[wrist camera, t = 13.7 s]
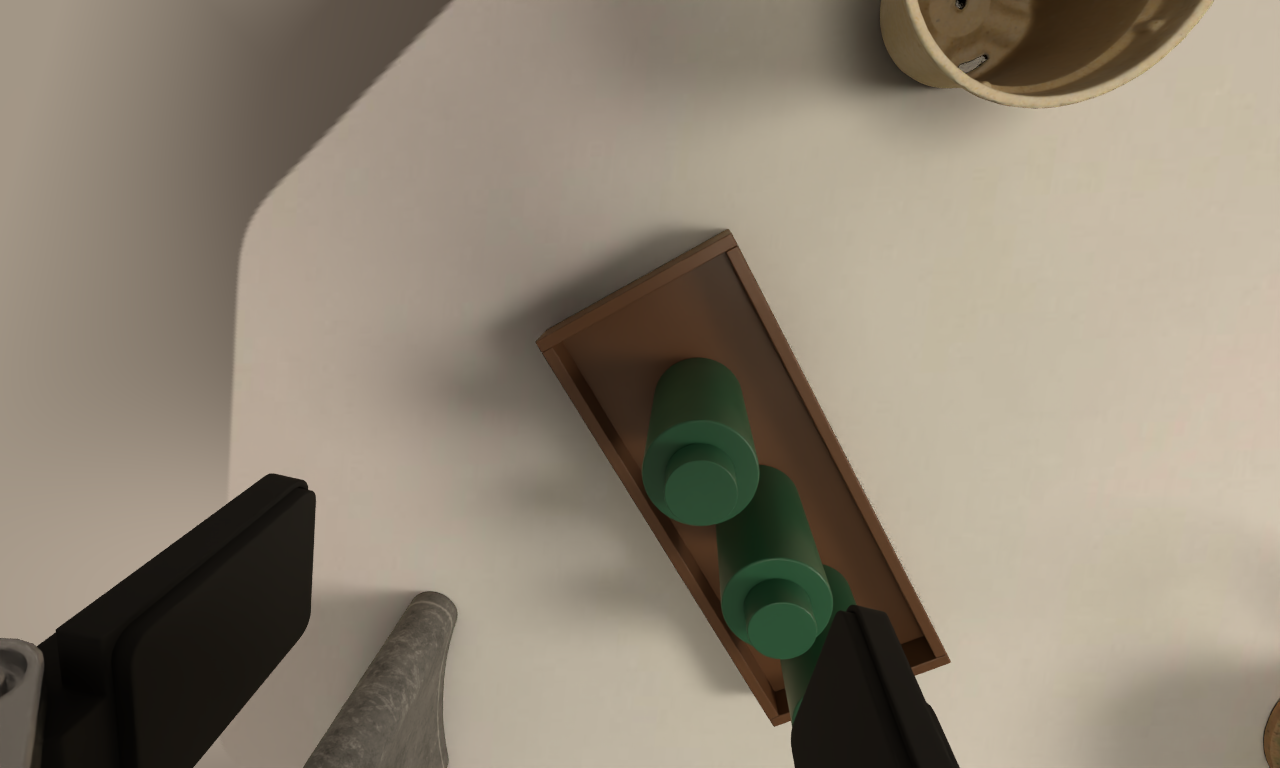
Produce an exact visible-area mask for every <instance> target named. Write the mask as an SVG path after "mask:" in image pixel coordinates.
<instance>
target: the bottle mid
mask: <svg viewBox="0 0 1280 768" xmlns="http://www.w3.org/2000/svg"><path fill="white" fill-rule="evenodd" d="M759 469H760V477H759V483H758V487H757V490H756V492H755V494H754V496H753V498H752V500H751V501H750V503H749V504H748V505H747V506H746V507H745V508H744V509H743V510H742V511H741V512H740V513H739V514H737V515H736V516H734V517H733V518H731V519H729V520H727V521H724V522H722V523H719V524H716V537H717V552H718V566H719V581H720V595H721V608H722V614H723V617H724V620H725V621H726V623H727V625H728V627H729V628H730V629H731V631H732V632H733V633H734V634H735V635H736V636H737V637H738V638H740V639H741V640H743V641H744V642H746V643H747V644H750V645H752V646H753V647H754V648H755V649H756V650H757V651H758V652H759V653H761V654H763V655H765V656H767V657H770V658H774V659H790V658H794V657H797V656H799V655H801V654H803V653H805V652H806V651H807V650H808V649H809V648H810V647H811V646H812V645H813V643H814V641H815V639H816V637H817V636H818V635H819V634H820V633H821V632H822V631H823V630H824V628H825V627H826V626H827V624H828V622H829V620H830V617H831V614H832V610H833V596H832V592H831V589H830V586H829V583H828V580H827V577H826V574H825V571H824V568H823V565H822V562H821V559H820V556H819V553H818V550H817V547H816V544H815V541H814V538H813V535H812V532H811V529H810V526H809V523H808V520H807V517H806V514H805V511H804V508H803V505H802V502H801V499H800V496H799V493H798V491H797V488H796V486H795V484H794V483H793V481H792V480H791V479H790V478H789V477H788V476H787V475H786V474H785V473H783V472H782V471H780V470H778V469H776V468H773V467H770V466H766V465H759Z"/></svg>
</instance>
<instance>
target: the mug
mask: <svg viewBox="0 0 1280 768" xmlns="http://www.w3.org/2000/svg"><path fill="white" fill-rule="evenodd" d="M1264 750H1265V755H1266V758H1267V761H1268V764H1269V766H1270V768H1280V701H1279V702H1278V703H1277V705H1276V706H1275V708H1274V710H1273V711H1272V713H1271V715H1270V718H1269V720H1268V723H1267V726H1266V730H1265V735H1264Z"/></svg>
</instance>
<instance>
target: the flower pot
mask: <svg viewBox="0 0 1280 768" xmlns="http://www.w3.org/2000/svg"><path fill="white" fill-rule="evenodd" d="M956 1H957V0H881V5H880V26H881V32H882V37H883V41H884V44H885V46H886V49H887V51H888V53H889V55H890V56H891V58H892V60H893V61H894V62H895V64H896V65H897V66H898V67H899V68H900V70H901V71H902V72H904V73H905V74H907V75H908V76H910V77H911V78H913V79H914V80H916V81H918V82H920V83H922V84H925V85H928V86H932V87H937V88H963V89H965V90H966V91H968V92H970V93H972V94H974V95H975V96H977V97H980V98H982V99H985V100H988V101H991V102H994V103H998V104H1002V105H1007V106H1014V107H1023V108H1052V107H1059V106H1065V105H1070V104H1075V103H1078V102H1082V101H1085V100H1088V99H1092V98H1094V97H1097V96H1100V95H1102V94H1105V93H1107V92H1109V91H1112V90H1114V89H1116V88H1118V87H1120V86H1122V85H1124V84H1126V83H1127V82H1129V81H1131V80H1133V79H1134V78H1136V77H1138V76H1139V75H1141V74H1142V73H1144V72H1145V71H1147V70H1148V69H1150V68H1151V67H1152V66H1154V65H1155V64H1156V63H1158V62H1159V61H1160V60H1161V59H1163V58H1164V57H1165V56H1166V55H1167V54H1168V53H1169V52H1170V51H1171V50H1172V49H1174V48H1175V47H1176V46H1177V45H1178V44H1179V43H1180V42H1181V41H1182V40H1183V39H1184V38H1185V37H1186V36H1187V34H1188V33H1189V32H1190V31H1191V30H1192V28H1193V27H1194V26H1195V25H1196V24H1197V23H1198V22H1199V20H1200V19H1201V18H1202V16H1203V15H1204V14H1205V13H1206V11H1207V10H1208V9H1209V8H1210V6H1211V5H1212V3H1213V2H1214V0H965V1H966V5H965V7H964V8H963V9H960V8H958V7H957V6H956V5H955V3H956ZM984 54H985V55H987V57H988V60H986V61H984V62H983V63H982V64H981V65H980V66H979V67H977V68H975V69H974V70H972V71H970V72H968V73H966V74H965V73H964V72H963V71H961V70H960V69H959V68H958V67H959V65H960V64H962V63H966V62H969V61H972V60H974V59H976V58H978V57H980V56H981V55H984Z"/></svg>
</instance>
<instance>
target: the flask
mask: <svg viewBox="0 0 1280 768" xmlns="http://www.w3.org/2000/svg"><path fill="white" fill-rule="evenodd" d="M456 620H457V611H456V608H455V606H454V604H453V603H452V602H451V601H450V600H449V599H448V598H447V597H445V596H444V595H442V594H439V593H436V592H425V593H421V594H419V595H417V596H416V597H415V598H414V599H413V600H412V602H411V603H410V605H409V606H408V608H407V609H406V611H405V613H404V614H403V616H402V617H401V619H400V620H399V622H398V623H397V625H396V626H395V628H394V629H393V631H392V632H391V634H390V635H389V637H388V638H387V640H386V642H385V643H384V645H383V646H382V648H381V649H380V651H379V652H378V654H377V655H376V657H375V658H374V660H373V661H372V663H371V664H370V666H369V667H368V669H367V671H366V672H365V674H364V675H363V677H362V678H361V680H360V681H359V683H358V684H357V686H356V687H355V689H354V690H353V692H352V693H351V695H350V696H349V698H348V700H347V701H346V703H345V704H344V706H343V707H342V709H341V710H340V712H339V713H338V715H337V716H336V718H335V719H334V721H333V722H332V724H331V725H330V727H329V729H328V730H327V732H326V733H325V735H324V736H323V738H322V739H321V741H320V742H319V744H318V745H317V747H316V748H315V750H314V751H313V753H312V754H311V756H310V758H309V759H308V761H307V762H306V764H305V765H304V767H303V768H447V765H448V755H447V750H446V744H445V738H444V728H443V684H444V673H445V665H446V659H447V653H448V648H449V644H450V640H451V636H452V633H453V629H454V626H455V623H456Z"/></svg>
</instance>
